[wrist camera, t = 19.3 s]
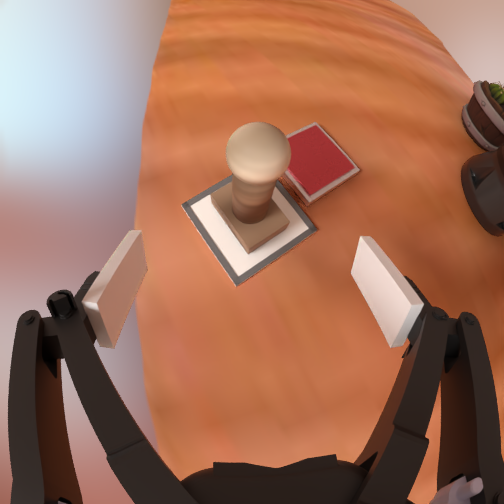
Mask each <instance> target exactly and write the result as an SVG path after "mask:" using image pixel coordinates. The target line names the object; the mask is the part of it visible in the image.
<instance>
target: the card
mask: <svg viewBox="0 0 504 504" xmlns="http://www.w3.org/2000/svg"><path fill="white" fill-rule="evenodd" d="M230 182H232V175H231V176H229V177H227V178H225V179H224V180H222V181H220V182H219V183H217V184H215V185H213V186H212V187H210V188H208V189H207V190H205V191H203V192H201V193H200V194H198V195H196V196H195V197H193V198H192V199H190V200H188V201H187V202H185V203H183V204H182V205H181V206H182V208H183V209H184V211H185V212H186V214H187V215H188V217H189V218H190V220H191V221H192V223H193V224H194V226H195V227H196V229H197V230H198V232H199V233H200V235H201V236H202V238H203V239H204V241H205V242H206V244H207V245H208V247H209V248H210V250H211V251H212V252H213V254H214V255H215V257H216V258H217V260H218V261H219V263H220V264H221V266H222V267H223V269H224V270H225V271H226V273H227V274H228V276H229V277H230V279H231V280H232V282H233V283H234V284H235V286H236V287H237V286H238V285H240V284H241V283H243V282H244V281H246V280H247V279H248V278H250V277H251V276H253V275H254V274H256V273H257V272H259V271H260V270H262V269H263V268H265V267H266V266H267V265H269V264H270V263H272V262H273V261H275V260H276V259H278V258H279V257H280V256H282V255H283V254H285V253H286V252H288V251H289V250H291V249H292V248H293V247H295V246H296V245H298V244H299V243H301V242H302V241H303V240H305V239H306V238H308V237H309V236H310V235H312V234H313V233H315V232H316V231H317V229H316V227H315V226H314V225H313V223H312V222H311V221H310V220H309V218H308V217H307V216H306V214H305V213H304V212H303V211H302V209H301V208H300V207H299V206H298V204H297V203H296V202H295V200H294V199H293V198H292V197H291V196H290V194H289V193H288V192H287V191H286V189H285V188H284V187H283V186H282V184H281V183H280V182H279V181H278V180H277V182H276V185H275V188H274V191H273V195H272V199H273V200H274V202H275V203H276V204H277V206H278V207H279V208H280V209H281V211H282V212H283V213H284V215H285V216H286V217H287V218H288V220H289V221H290V223H289V225H288V227H287V228H286V230H284V231H283V232H281V233H280V234H278V235H277V236H275V237H274V238H272V239H271V240H269V241H268V242H266V243H265V244H263V245H262V246H260V247H259V248H257V249H256V250H254V251H253V252H251V253H250V254H247V252H246V251H245V250H244V248H243V247H242V245H241V244H240V243H239V241H238V240H237V238H236V237H235V236H234V234H233V233H232V231H231V230H230V229H229V227H228V226H227V224H226V223H225V222H224V220H223V219H222V217H221V216H220V215H219V213H218V212H217V210H216V209H215V208H214V206H213V204H212V203H211V196H210V194H211V193H213V192H215V191H217V190H218V189H220V188H222V187H223V186H225V185H227V184H229V183H230Z"/></svg>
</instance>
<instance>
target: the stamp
mask: <svg viewBox="0 0 504 504" xmlns="http://www.w3.org/2000/svg"><path fill="white" fill-rule="evenodd" d="M290 159H291V148H290V144H289V141H288V139H287V138H286V136H285V135H284V133H283V132H282V131H281V130H280V129H278V128H277V127H275V126H273V125H271V124H268V123H265V122H252V123H248V124H245V125H243V126H241V127H240V128H238V129H237V130H236V131H235V132H234V133H233V134H232V135H231V137H230V139H229V141H228V143H227V147H226V160H227V164H228V166H229V168H230V170H231V171H232V182H230V183H229V184H227V185H225V186H223V187H222V188H220V189H218V190H217V191H215V192H213V193H211V194H210V196H211V203H212V204H213V206H214V208H215V209H216V210H217V212H218V213H219V215H220V216H221V217H222V219H223V220H224V222H225V223H226V224H227V226H228V227H229V229H230V230H231V231H232V233H233V234H234V236H235V237H236V238H237V240H238V241H239V243H240V244H241V245H242V247H243V248H244V250H245V251H246V252H247V254H250V253H251V252H253V251H254V250H256V249H257V248H259V247H260V246H262V245H263V244H265V243H266V242H268V241H269V240H271V239H272V238H274V237H275V236H277V235H278V234H280V233H281V232H283V231H284V230H286V228H287V227H288V225H289V223H290V221H289V220H288V218H287V217H286V216H285V215H284V213H283V212H282V211H281V209H280V208H279V207H278V206H277V204H276V203H275V202H274V200H273V199H272V195H273V191H274V188H275V185H276V182H277V179H279V178H280V177H281V176H282V175H283V174H284V173H285V171H286V170H287V168H288V166H289V163H290Z"/></svg>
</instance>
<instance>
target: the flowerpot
mask: <svg viewBox="0 0 504 504" xmlns="http://www.w3.org/2000/svg"><path fill="white" fill-rule="evenodd" d="M473 91H474V94H473V96H472V98H471V100H470V102H469V104H466V105H465V106H463V110H462V120H463V125H464V127H465V128H466V131H467V133H468V134H469V136H470V137H471V138H473V140H474V142H475V143H476V144H477V145H478V146H480V147H481V148H483V149H485V150H487V151H493V150H496V149H497V148H499V147H500V146H501V145H502V144H503V143H504V87H503V88H502V87H501V85H498V84H494V83H490V84H489V83H488V82H487V81H484V82H482V81H477V82H474V87H473Z"/></svg>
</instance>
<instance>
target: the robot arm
mask: <svg viewBox="0 0 504 504" xmlns="http://www.w3.org/2000/svg"><path fill="white" fill-rule="evenodd" d="M461 180H462V186H463V190H464V193H465V196H466V199H467V201H468V204H469V206H470V208H471V210H472V212H473V213H474V215H475V217H476V218H477V220H478V221H479V223H480V224H481V225H482V226H483V227H484V229H485V230H487V231H488V232H489V233H490V234H492V235H494V236H501V235H504V143H503V144H502V145H501V146H500V147H499V148H497V149H496V150H493V151H489V152H486V153H482V154H479V155H475V156H473V157H471V158H470V159H469V160H467V161H466V162H465V163H464V164H463V166H462V170H461ZM147 270H148V269H147V263H146V257H145V250H144V244H143V237H142V230H130V231H129V232H128V234H127V235H126V236H125V238H124V239H123V240H122V242H121V243H120V245H119V246H118V247H117V249H116V250H115V252H114V253H113V255H112V256H111V257H110V259H109V260H108V261H107V263H106V265H105V266H104V267H103V269H102V270H101V272H96V271H95V272H93V273H92V274H91V275H90V276H88V278H87V279H86V280H85V282H84V284H83V285H82V286H81V288H80V290H79V291H78V292H77V294H76V295H75V297H73V294H72V293H71V292H70V291H68V290H60V291H57V292H55V293H53V294H52V295H50V296H49V298H48V299H47V306H48V309H49V310H50V313H51V315H52V317H46V318H41V316H40V314H39V312H38V311H36V310H29V311H27V312H25V313H23V314H22V315H21V316H20V318H19V320H18V323H17V328H16V333H15V339H14V345H13V352H12V360H11V369H10V380H9V396H8V432H9V433H8V434H9V451H10V461H11V468H12V476H13V483H12V492H11V504H83V502H82V496H81V492H80V487H79V484H78V480H77V476H76V472H75V468H74V464H73V460H72V455H71V450H70V445H69V439H68V434H67V427H66V420H65V412H64V403H63V393H62V379H61V359H63V358H65V361H66V364H67V367H68V370H69V372H70V375H71V378H72V381H73V383H74V386H75V388H76V391H77V393H78V396H79V398H80V400H81V403H82V405H83V408H84V410H85V412H86V414H87V416H88V418H89V420H90V423H91V425H92V426H93V429H94V431H95V433H96V435H97V436H98V439H99V441H100V442H101V444H102V446H103V448H104V450H105V452H106V454H107V461H108V463H109V465H110V467H111V469H112V470H113V472H114V473H115V475H116V477H117V478H118V480H119V481H120V483H121V484H122V486H123V487H124V489H125V490H126V492H127V493H128V495H129V496H130V497H131V499H132V500H133V502H134V503H135V504H414V503H413V502H411V501H410V500H408V499H407V498H408V495H409V493H410V491H411V489H412V487H413V484H414V482H415V480H416V477H417V475H418V472H419V470H420V467H421V465H422V462H423V459H424V457H425V454H426V451H427V448H428V444H429V439H428V438H425V435H426V431H427V428H428V425H429V421H430V418H431V415H432V411H433V407H434V404H435V400H436V396H437V391H438V387H439V382H440V381H441V437H440V452H439V462H438V473H437V493H436V495H435V497H434V499H433V500H431V502H430V503H429V504H504V462H503V458H502V455H501V436H500V423H499V413H498V405H497V398H496V392H495V386H494V380H493V375H492V370H491V366H490V361H489V357H488V353H487V349H486V345H485V341H484V337H483V334H482V330H481V327H480V324H479V321H478V319H477V318H476V317H475V316H474V315H473V314H471V313H468V312H462V313H461V314H460V316H459V318H458V319H454V318H449V316H448V315H447V313H446V312H445V311H444V310H442V309H440V308H438V307H432V306H431V305H430V303H429V302H428V301H427V299H426V298H425V297H424V295H423V294H422V293H421V291H420V290H419V289H418V288H417V286H416V285H415V283H414V282H413V281H412V280H411V279H409V278H408V277H407V276H403V275H402V274H401V273H400V271H399V270H398V269H397V267H396V266H395V265H394V264H393V262H392V261H391V260H390V259H389V258H388V256H387V255H386V254H385V253H384V251H383V250H382V249H381V248H380V247H379V245H378V244H377V243H376V242H375V241H374V239H373V238H372V237H371V236H360V239H359V243H358V247H357V251H356V255H355V259H354V263H353V267H352V270H351V275H352V276H353V278H354V280H355V282H356V283H357V285H358V287H359V289H360V291H361V292H362V294H363V296H364V298H365V300H366V302H367V303H368V305H369V307H370V309H371V311H372V313H373V315H374V316H375V318H376V320H377V322H378V324H379V326H380V328H381V330H382V332H383V334H384V336H385V338H386V340H387V342H388V344H389V346H390V348H392V347H399V346H403V344H404V342H405V340H406V339H407V338H408V339H409V341H410V344H409V346H408V347H407V349H406V351H405V353H404V354H403V356H402V358H404V359H403V362H402V365H401V368H400V370H399V373H398V376H397V378H396V381H395V384H394V386H393V389H392V391H391V393H390V396H389V398H388V401H387V403H386V405H385V407H384V410H383V412H382V414H381V416H380V418H379V421H378V423H377V425H376V427H375V429H374V431H373V433H372V435H371V437H370V439H369V441H368V443H367V444H366V446H365V448H364V450H363V452H362V453H361V455H360V456H359V457H358V458H357V460H356V461H355V462H354V463H350V462H347V461H341V460H337V457H336V454H333V455H327V456H321V457H314V458H307V459H304V460H302V461H299V462H296V463H293V464H290V465H287V466H284V467H280V468H271V467H265V466H259V465H254V464H249V463H224V462H213V468H208V469H204V470H201V471H198V472H196V473H193V474H191V475H190V476H188V477H186V478H185V479H183V480H182V481H181V482H180V481H179V480H178V478H177V477H176V476H175V475H174V474H173V472H172V471H171V470H170V469H169V468H168V466H167V465H166V464H165V463H164V461H163V460H162V459H161V457H160V456H159V455H158V453H157V452H156V451H155V450H154V448H153V447H152V445H151V444H150V442H149V441H148V439H147V438H146V437H145V435H144V434H143V432H142V431H141V429H140V428H139V426H138V425H137V423H136V422H135V420H134V418H133V417H132V415H131V414H130V412H129V410H128V409H127V407H126V406H125V404H124V402H123V400H122V399H121V397H120V395H119V394H118V392H117V390H116V388H115V386H114V385H113V383H112V381H111V379H110V377H109V375H108V373H107V371H106V369H105V368H104V365H103V363H102V361H101V359H100V357H99V355H98V353H97V351H96V349H95V347H94V343H95V340H96V339H97V341H98V343H99V345H100V347H106V348H115V345H116V342H117V340H118V337H119V335H120V332H121V330H122V327H123V325H124V323H125V320H126V318H127V315H128V313H129V310H130V308H131V305H132V303H133V301H134V299H135V297H136V294H137V292H138V290H139V287H140V285H141V283H142V281H143V279H144V276H145V274H146V272H147Z"/></svg>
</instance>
